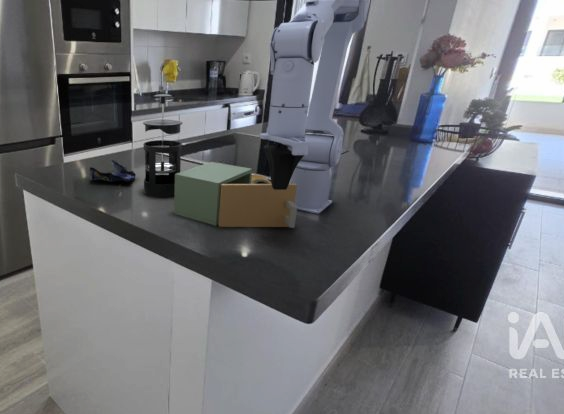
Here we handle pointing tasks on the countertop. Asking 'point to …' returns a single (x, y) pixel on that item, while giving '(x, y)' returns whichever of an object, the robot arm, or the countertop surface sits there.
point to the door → (257, 206)
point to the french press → (162, 183)
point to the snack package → (117, 176)
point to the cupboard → (205, 189)
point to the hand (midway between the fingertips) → (279, 188)
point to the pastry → (259, 180)
